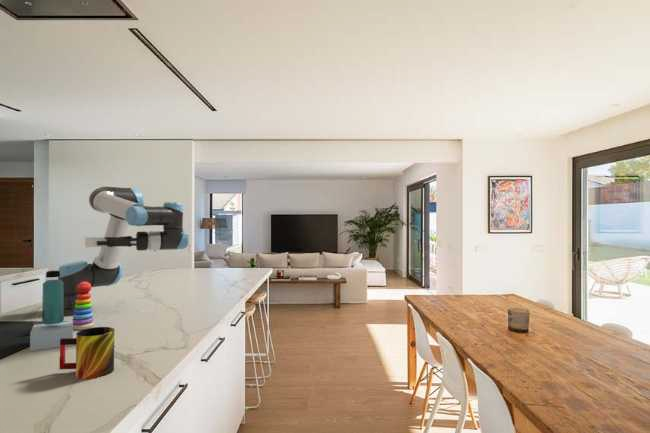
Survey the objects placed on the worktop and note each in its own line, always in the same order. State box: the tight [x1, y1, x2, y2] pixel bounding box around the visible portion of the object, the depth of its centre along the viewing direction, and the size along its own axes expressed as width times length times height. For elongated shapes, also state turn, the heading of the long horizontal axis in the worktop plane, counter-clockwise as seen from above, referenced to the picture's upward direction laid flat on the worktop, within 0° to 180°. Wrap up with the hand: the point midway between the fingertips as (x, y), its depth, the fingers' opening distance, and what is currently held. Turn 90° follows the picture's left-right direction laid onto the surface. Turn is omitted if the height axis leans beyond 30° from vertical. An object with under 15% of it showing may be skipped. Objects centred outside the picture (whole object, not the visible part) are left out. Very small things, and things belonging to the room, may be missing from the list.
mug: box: [59, 326, 115, 380], centre depth 114 cm, size 10×14×12 cm
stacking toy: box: [71, 282, 95, 331], centre depth 161 cm, size 8×8×19 cm
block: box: [29, 320, 74, 352], centre depth 141 cm, size 12×12×6 cm
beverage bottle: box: [41, 270, 65, 325], centre depth 141 cm, size 6×7×20 cm
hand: (85, 242), depth 146 cm, fingers open, 13 cm apart
